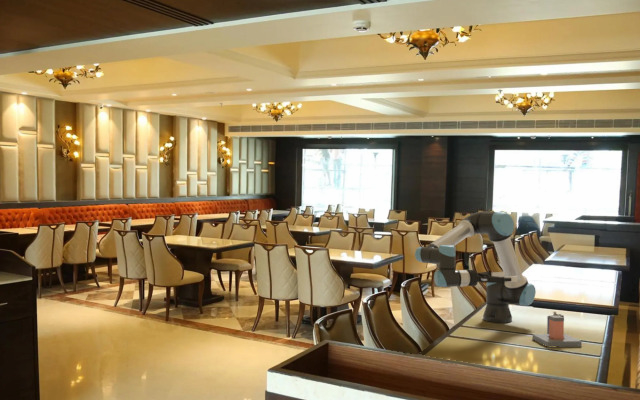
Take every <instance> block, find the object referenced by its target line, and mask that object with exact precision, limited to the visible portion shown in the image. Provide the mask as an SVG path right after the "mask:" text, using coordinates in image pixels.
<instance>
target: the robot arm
mask: <svg viewBox="0 0 640 400" xmlns="http://www.w3.org/2000/svg"><path fill="white" fill-rule="evenodd" d="M514 226H515V222H514V218H512V216H511V215H510V214H509V213H508V212H505V211H504V212H503V211H477V212H475V213H471V214H470V215H468V216H467V217H465V218H463V219H462V220H460V221H459V222H458V225H456V226H455V227H453V228H451V230H449V231H447V232H446V233H444V234H443V235H441V236H440V237H439V238H436V239H435V240H434V241H433V242H431V243H429V244H428V245H426V246H420V247H417V248H416V249H415V252H414V257H415V258H414V259H415V260H416V261H417V262H420V263H422V264H432V265H438V270H435V272H434V273H433V274H434V275H433V282H434V284H435V286H436V287H439V288H441V287H442V288H448V287H449V288H453V287H460V288H463V287H476V286H477V285H478V282H479V283H486V286H485V287H486V291H485V292H486V294H485V295H486V304H485V305H486V306H485V308H484V312H483V315H482V320H483V321H485V320H486V322H489V321H490V323H497V322H498V323H499V324H503V323H504V324H505V323H506V322H507V323H511V322H512V321H513V316H512V313H511V310H510V305H509V304H511V305H512V304H513V305H517V306H521V307H522V306H525V307H528V306H530V305H531V304H532V303H533V302H534V300H535V298H536V286H535V285H534V284H532V283H529V282H528V278H527V277H526V276H525V275H523V272H522V270H521V267H520V264H519V260H518V257H517V254H516V251H515V248H514V245H513V242H512V240H511V237H512V236H513V232H514V230H515V227H514ZM474 235H487V237H488V240H489V241H490V242H491V243H493V245H494V249H495V251H496V254H497V256H498V260H499V264H500V266H501V268H502V271H492V270H488V271H483V272H477V271H476V270H475V269H458V270H456V256H457V255H456V247H455V246H456V245H458V244H459V243H461V242H462V241H464V240H465V239H466V238H471V237H473V236H474ZM498 323H497V324H498ZM507 323H506V324H507Z"/></svg>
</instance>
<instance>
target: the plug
mask: <svg viewBox="0 0 640 400" xmlns="http://www.w3.org/2000/svg"><path fill="white" fill-rule="evenodd" d="M548 316H549V337H550V338H552V339H564V334H565V328H564V325H565V317H561V316H550V315H548Z"/></svg>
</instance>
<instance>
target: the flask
mask: <svg viewBox="0 0 640 400" xmlns="http://www.w3.org/2000/svg"><path fill="white" fill-rule="evenodd" d="M549 316H561V317H564V314H561V313H557V311H553V315H547V322H546V323H547V324H546V325H547V326H546V327H547V328H546V329H547V331H546V334H549ZM564 318H565V317H564Z"/></svg>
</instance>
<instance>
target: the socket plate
mask: <svg viewBox="0 0 640 400" xmlns="http://www.w3.org/2000/svg"><path fill="white" fill-rule="evenodd" d="M532 340H533V341H534V340H535V341H534V342H536V341H537V342H536V343H538V342H539V343H538V344H540V343H541V344H540V345H542V344H544V345H546V346H559V347H558V348H579V347H580V348H582V343H583V342H582V340H580V339H578V338H576V337H573V336H572V335H569V334H567V333H564V339H552V338H550V337H549V334H547V333H540V334H539V333H537V334H536V333H534V334H532ZM544 345H543V346H544Z"/></svg>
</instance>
